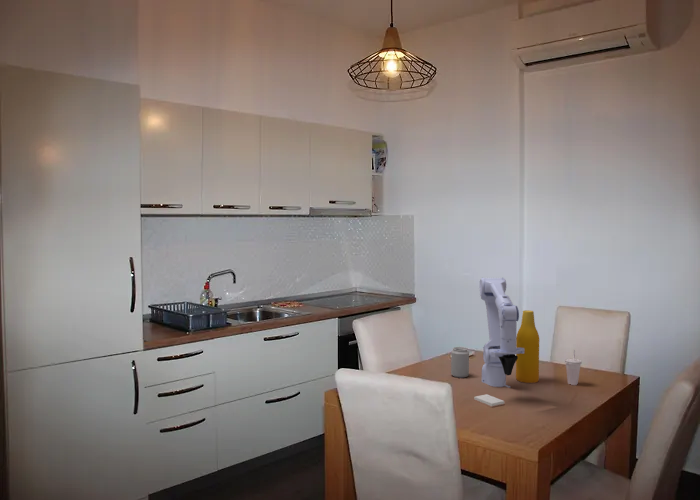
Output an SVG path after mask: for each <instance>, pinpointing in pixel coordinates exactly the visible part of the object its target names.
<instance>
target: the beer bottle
mask: <svg viewBox="0 0 700 500" xmlns="http://www.w3.org/2000/svg"><path fill="white" fill-rule="evenodd" d="M535 323H536V322H535V313H534V310H523V311H522V316H521V323H520V327H519V329H518V331H517V332H516V348H520V347H521V348H524V354H522V353H520V354H515V355H516V356H518V359H517V360H516V362H515V378H516V380H517V382H520V383H523V384H524V383H526V384H535V383H538V382H539V380H540V336H539V332H538V329H537V327H536V324H535Z"/></svg>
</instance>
